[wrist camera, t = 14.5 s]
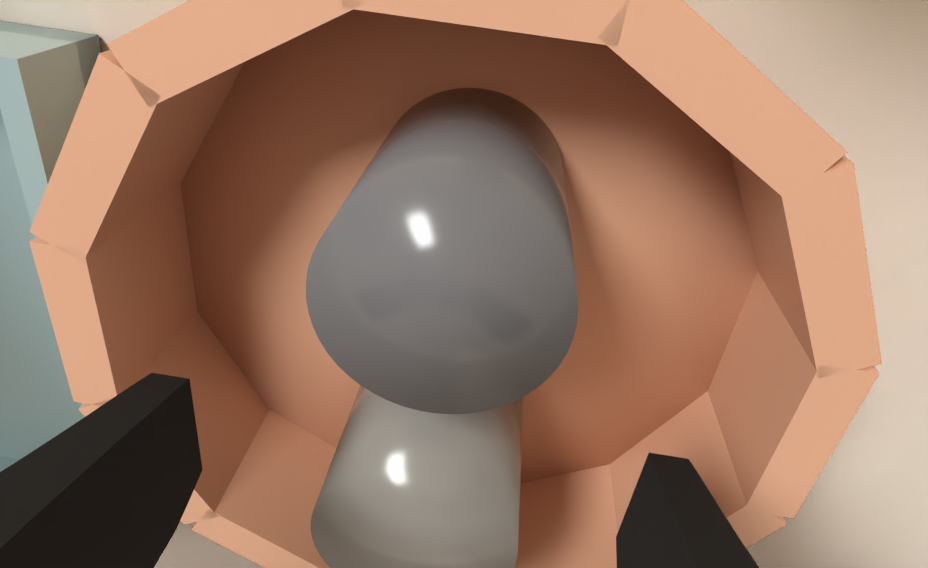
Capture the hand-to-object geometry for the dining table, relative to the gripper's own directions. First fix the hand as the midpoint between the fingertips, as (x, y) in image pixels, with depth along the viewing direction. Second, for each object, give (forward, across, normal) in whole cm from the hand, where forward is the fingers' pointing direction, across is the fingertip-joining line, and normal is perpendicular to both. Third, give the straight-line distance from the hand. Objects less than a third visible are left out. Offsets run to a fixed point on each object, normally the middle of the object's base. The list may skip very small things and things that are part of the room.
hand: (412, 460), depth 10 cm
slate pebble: (+6, 0, +3) cm, 6 cm away
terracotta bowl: (+7, 0, 0) cm, 7 cm away
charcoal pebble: (+6, 0, -2) cm, 6 cm away
